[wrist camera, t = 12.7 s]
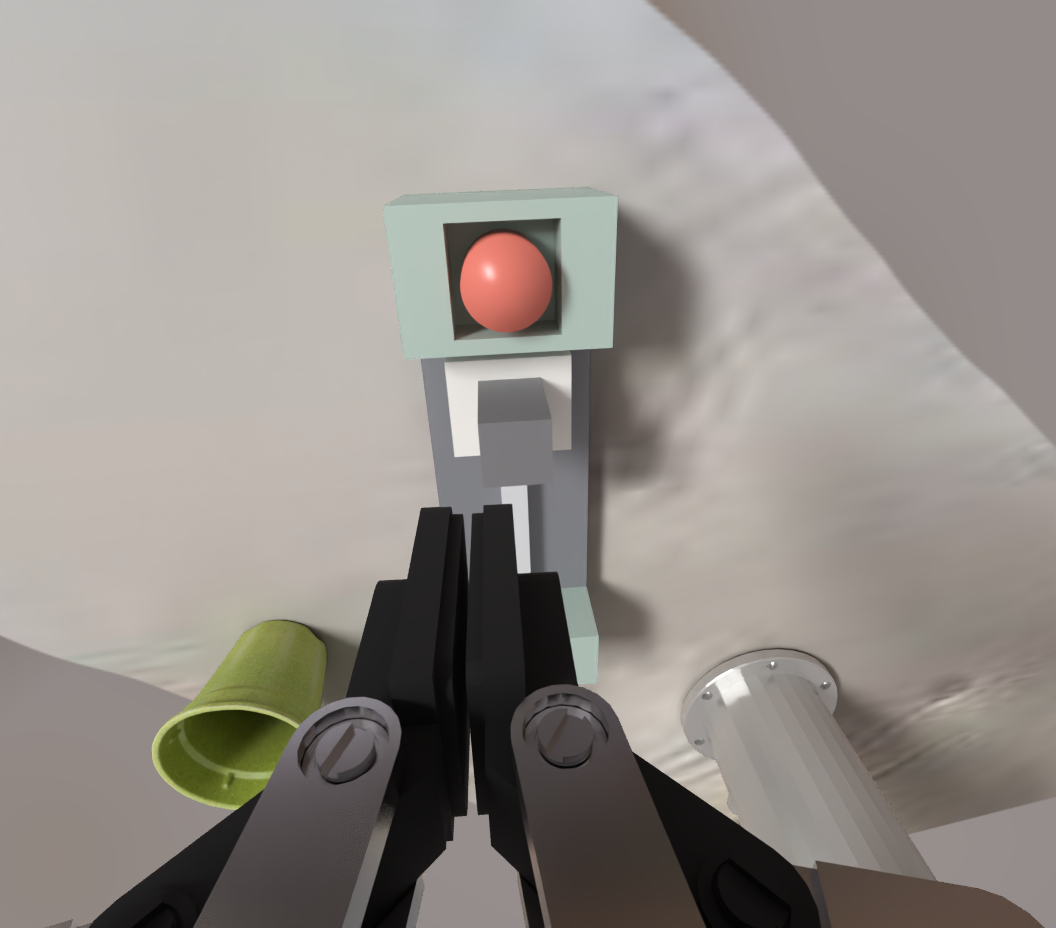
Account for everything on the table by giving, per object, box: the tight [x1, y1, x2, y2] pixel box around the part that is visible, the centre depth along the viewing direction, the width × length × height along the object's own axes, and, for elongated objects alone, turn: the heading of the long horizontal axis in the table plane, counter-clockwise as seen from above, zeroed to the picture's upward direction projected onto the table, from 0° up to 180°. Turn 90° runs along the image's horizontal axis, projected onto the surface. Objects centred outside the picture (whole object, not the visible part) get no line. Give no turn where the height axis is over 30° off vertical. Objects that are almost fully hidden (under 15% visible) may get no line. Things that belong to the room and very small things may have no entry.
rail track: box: [382, 187, 618, 684], centre depth 32 cm, size 28×9×7 cm, turn 2°
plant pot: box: [152, 620, 327, 810], centre depth 37 cm, size 9×9×9 cm
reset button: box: [460, 229, 552, 332], centre depth 24 cm, size 4×4×3 cm
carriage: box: [444, 350, 571, 488], centre depth 27 cm, size 5×6×7 cm
